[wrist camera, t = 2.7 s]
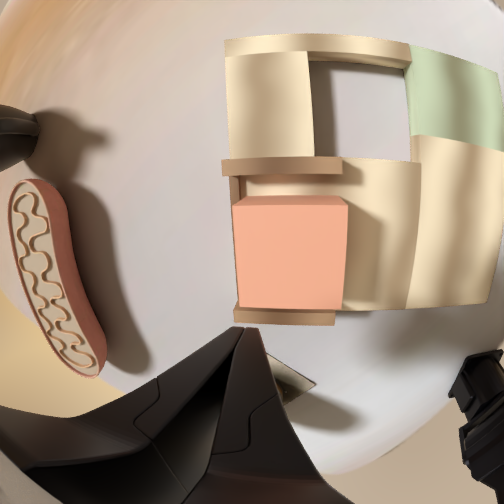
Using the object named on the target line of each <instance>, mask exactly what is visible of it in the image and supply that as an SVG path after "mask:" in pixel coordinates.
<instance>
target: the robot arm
mask: <svg viewBox="0 0 504 504" xmlns="http://www.w3.org/2000/svg"><path fill="white" fill-rule="evenodd" d="M503 353H504V352H503V350H502V349H500V350H495V351H491V352H487V353H482V354H477V355H472V356H468V357H467V358H466V359H465V361H464V363H463V366H462V368H461V370H460V372H459V374H458V376H457V378H456V380H455V382H454V384H453V386H452V388H451V390H450V391H449V393H448V397H449V398H453V397H455V398H456V400H457V403H458V405H459V407H460V410H461V412H462V413H465V415H466V418H467V421H468V423H467V424H465V425H464V426H462V427H460V428H459V438H460V444H461V452H462V459H463V464H464V465H467V467H468V468H469V469H470V470H471V476H472V477H473V478H474V479H475V480H476V481H480V482H482V483H483V484H485V485H487V486H489V487H490V488H492V489H494V490H495V493H496V497H497V502H498V504H504V369H503V367H502V366H501V364H500V363H499V361H500V359H501V357H502V355H503ZM0 504H355V503H353V502H351V501H350V500H349V499H348V498H346V497H345V496H343V495H342V494H341V493H339V492H338V491H337V490H335V489H334V488H333V487H332V486H330V485H329V484H328V483H327V482H326V481H325V480H324V479H323V477H322V476H321V475H320V473H319V472H318V470H317V469H316V467H315V466H314V464H313V463H312V461H311V459H310V457H309V456H308V454H307V452H306V451H305V449H304V447H303V445H302V444H301V442H300V440H299V438H298V437H297V435H296V433H295V431H294V429H293V427H292V425H291V423H290V421H289V419H288V417H287V414H286V412H285V409H284V406H283V404H282V401H281V397H280V395H279V392H278V389H277V385H276V382H275V379H274V376H273V373H272V370H271V367H270V364H269V360H268V357H267V354H266V351H265V348H264V344H263V341H262V338H261V335H260V332H259V329H258V328H251V327H246V328H244V327H235V326H233V327H230V328H229V329H228V330H226V331H225V332H223V333H222V334H220V335H219V336H217V337H216V338H215V339H213V340H212V341H210V342H209V343H207V344H206V345H204V346H203V347H201V348H200V349H198V350H197V351H195V352H194V353H192V354H191V355H189V356H188V357H186V358H185V359H183V360H182V361H180V362H179V363H177V364H176V365H174V366H173V367H171V368H170V369H168V370H167V371H165V372H163V373H162V374H160V375H159V376H157V378H154V379H152V380H151V381H149V382H147V383H146V384H144V385H142V386H141V387H139V388H137V389H136V390H134V391H132V392H130V393H128V394H126V395H124V396H123V397H120V398H118V399H116V400H114V401H112V402H110V403H107V404H105V405H103V406H101V407H99V408H96V409H94V410H92V411H90V412H87V413H85V414H82V415H80V416H76V417H71V418H60V417H53V416H46V415H40V414H35V413H30V412H24V411H21V410H16V409H12V408H8V407H4V406H1V405H0Z"/></svg>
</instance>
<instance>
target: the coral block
mask: <svg viewBox="0 0 504 504" xmlns="http://www.w3.org/2000/svg"><path fill="white" fill-rule="evenodd" d="M232 211H233V226H234V240H235V254H236V268H237V280H238V293H239V305H240V307H253V308H280V309H341V305H342V296H343V286H344V274H345V261H346V245H347V223H348V205H347V204H346V203H345V202H344V201H343V200H342V199H341V198H340V197H339V196H338V195H266V196H246V197H245V198H243V199H242V200H240V201H239V202H237V203H236V204H234V205H233V206H232Z"/></svg>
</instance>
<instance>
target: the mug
mask: <svg viewBox="0 0 504 504" xmlns="http://www.w3.org/2000/svg"><path fill="white" fill-rule="evenodd" d="M39 131H40V128H39V125H38V123H37V120H36V118H35V117H34V116H33V115H32V114H28V113H26V112H24V111H21V110H19V109H16V108H13V107H10V106H5V105H1V104H0V172H1V171H3V170H5V169H7V168H9V167H11V166H13V165H15V164H17V163H18V162H20V161H22V160H24V159H26V158H28V157H29V156H30V155H31V154H32V153H33V151H34V149H35V146H36V143H37V138H38V133H39Z"/></svg>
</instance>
